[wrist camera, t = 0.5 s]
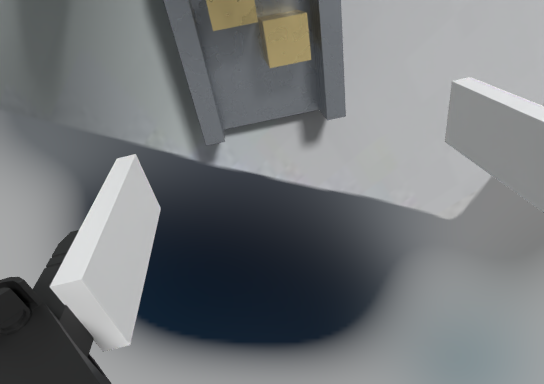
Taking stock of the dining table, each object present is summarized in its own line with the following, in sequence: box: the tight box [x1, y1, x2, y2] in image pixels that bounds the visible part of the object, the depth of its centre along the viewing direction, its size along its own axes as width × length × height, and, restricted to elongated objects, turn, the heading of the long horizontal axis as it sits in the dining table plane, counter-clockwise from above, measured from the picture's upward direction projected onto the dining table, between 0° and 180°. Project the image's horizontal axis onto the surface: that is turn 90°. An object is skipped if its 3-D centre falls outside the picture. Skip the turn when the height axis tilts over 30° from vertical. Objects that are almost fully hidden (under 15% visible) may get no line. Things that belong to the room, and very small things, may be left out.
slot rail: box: [164, 0, 346, 146], centre depth 33 cm, size 18×15×5 cm
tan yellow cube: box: [258, 10, 311, 68], centre depth 32 cm, size 4×4×4 cm
